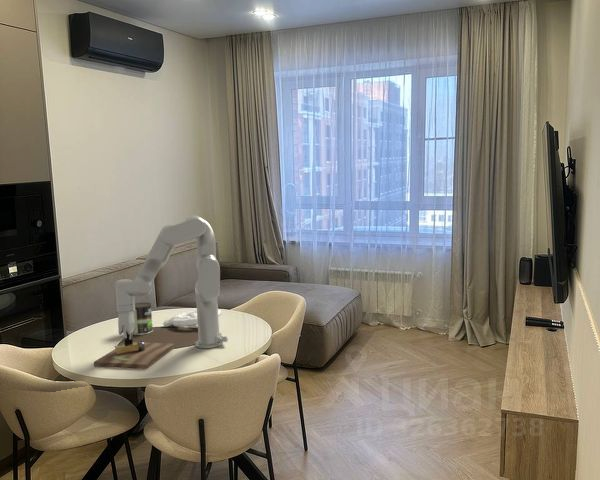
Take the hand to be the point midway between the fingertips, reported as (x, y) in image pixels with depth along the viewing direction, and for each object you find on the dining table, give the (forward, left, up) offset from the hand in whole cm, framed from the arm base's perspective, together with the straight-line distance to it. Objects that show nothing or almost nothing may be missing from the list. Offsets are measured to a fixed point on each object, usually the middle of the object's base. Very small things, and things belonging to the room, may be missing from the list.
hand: (129, 347), depth 234 cm
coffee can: (+11, -32, -3) cm, 34 cm away
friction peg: (-2, +2, -1) cm, 3 cm away
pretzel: (-10, -48, -3) cm, 49 cm away
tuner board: (-5, +2, -3) cm, 6 cm away
